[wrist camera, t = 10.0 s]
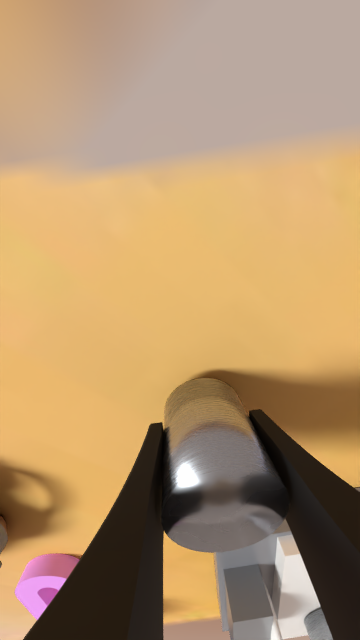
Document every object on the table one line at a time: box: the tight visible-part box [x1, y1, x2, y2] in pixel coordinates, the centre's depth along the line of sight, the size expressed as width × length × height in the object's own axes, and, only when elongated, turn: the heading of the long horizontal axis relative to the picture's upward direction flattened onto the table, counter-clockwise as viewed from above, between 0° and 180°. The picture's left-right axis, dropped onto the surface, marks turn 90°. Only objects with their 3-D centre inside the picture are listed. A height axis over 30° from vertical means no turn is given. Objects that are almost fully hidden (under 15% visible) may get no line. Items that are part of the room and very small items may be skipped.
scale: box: [214, 487, 360, 640], centre depth 16 cm, size 16×16×6 cm
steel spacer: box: [161, 378, 290, 553], centre depth 9 cm, size 5×5×5 cm
